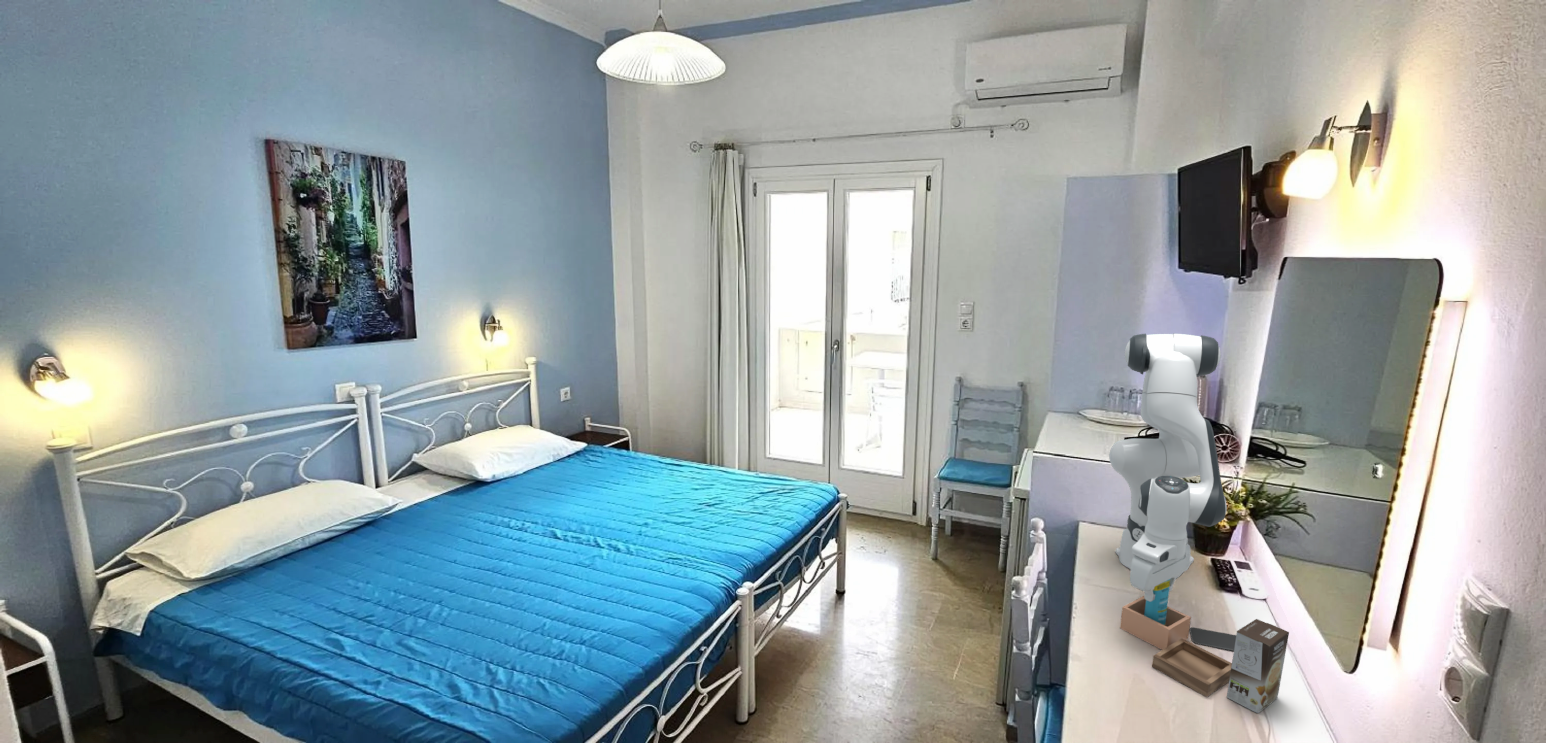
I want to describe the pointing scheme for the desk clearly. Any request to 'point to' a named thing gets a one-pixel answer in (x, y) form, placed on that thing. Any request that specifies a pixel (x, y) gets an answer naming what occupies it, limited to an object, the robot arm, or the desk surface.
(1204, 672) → the tray
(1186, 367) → the robot arm
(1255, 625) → the coffee box
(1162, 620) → the tube
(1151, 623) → the pink open box
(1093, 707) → the desk surface
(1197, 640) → the smartphone
